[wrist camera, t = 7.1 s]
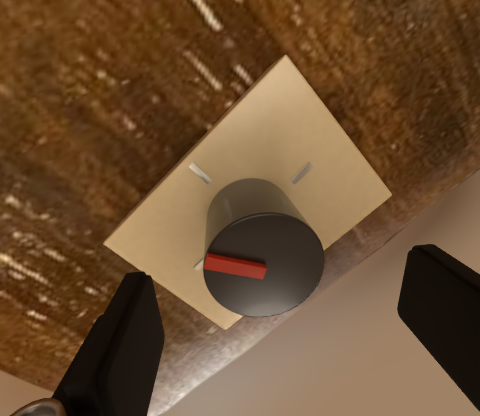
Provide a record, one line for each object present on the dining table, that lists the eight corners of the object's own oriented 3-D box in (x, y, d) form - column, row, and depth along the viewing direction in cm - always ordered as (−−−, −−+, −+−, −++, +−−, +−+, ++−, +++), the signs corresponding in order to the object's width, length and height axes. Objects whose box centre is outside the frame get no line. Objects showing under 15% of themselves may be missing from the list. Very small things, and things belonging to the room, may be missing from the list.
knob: (304, 189, 15) (348, 232, 10) (276, 263, 17) (302, 330, 12) (218, 167, 14) (220, 202, 9) (198, 247, 16) (190, 313, 11)
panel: (224, 301, 21) (225, 332, 18) (119, 222, 18) (101, 245, 15) (366, 181, 18) (395, 196, 15) (273, 62, 15) (287, 52, 12)
